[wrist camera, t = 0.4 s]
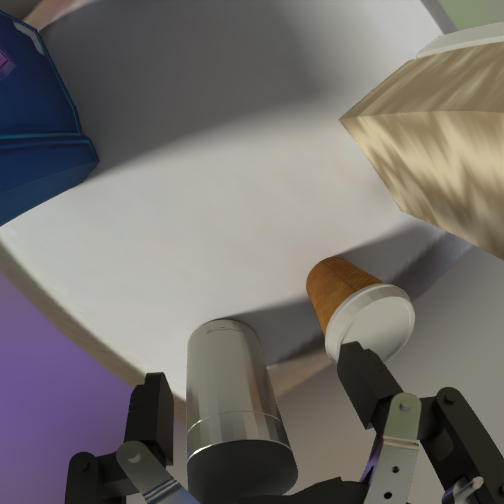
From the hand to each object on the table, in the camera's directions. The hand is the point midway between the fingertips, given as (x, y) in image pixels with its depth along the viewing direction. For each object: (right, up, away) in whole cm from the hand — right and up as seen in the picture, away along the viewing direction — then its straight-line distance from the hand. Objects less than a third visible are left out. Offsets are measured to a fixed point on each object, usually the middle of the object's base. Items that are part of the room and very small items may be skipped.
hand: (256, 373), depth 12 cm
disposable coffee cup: (+9, +2, +23) cm, 25 cm away
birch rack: (+19, +20, +18) cm, 33 cm away
